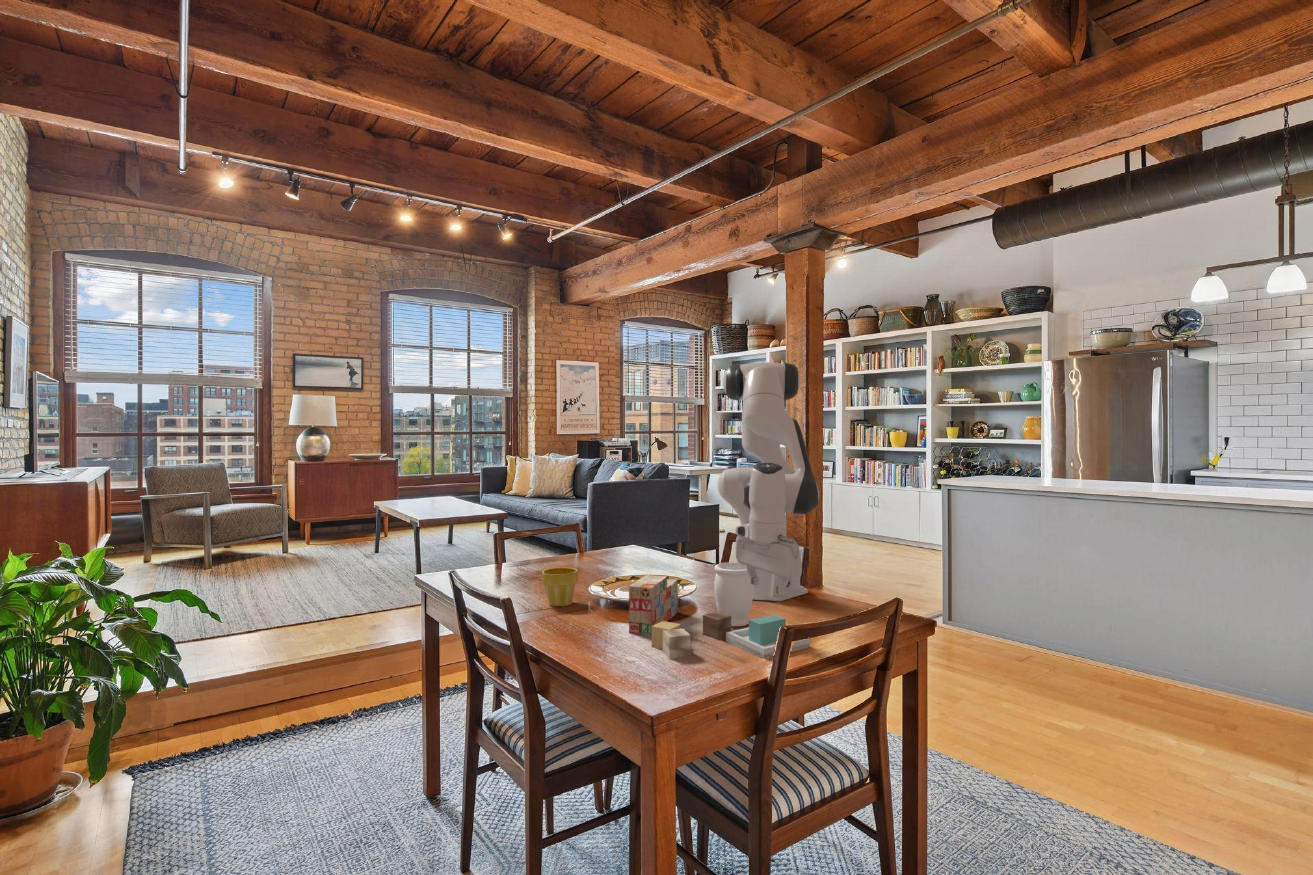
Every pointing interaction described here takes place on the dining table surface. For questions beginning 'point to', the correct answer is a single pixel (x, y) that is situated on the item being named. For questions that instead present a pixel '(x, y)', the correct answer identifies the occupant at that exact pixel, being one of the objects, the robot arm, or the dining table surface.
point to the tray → (763, 651)
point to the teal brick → (765, 629)
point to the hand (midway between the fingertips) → (767, 589)
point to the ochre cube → (661, 632)
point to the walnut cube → (716, 625)
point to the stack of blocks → (651, 603)
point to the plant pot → (560, 585)
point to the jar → (733, 592)
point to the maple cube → (676, 643)
